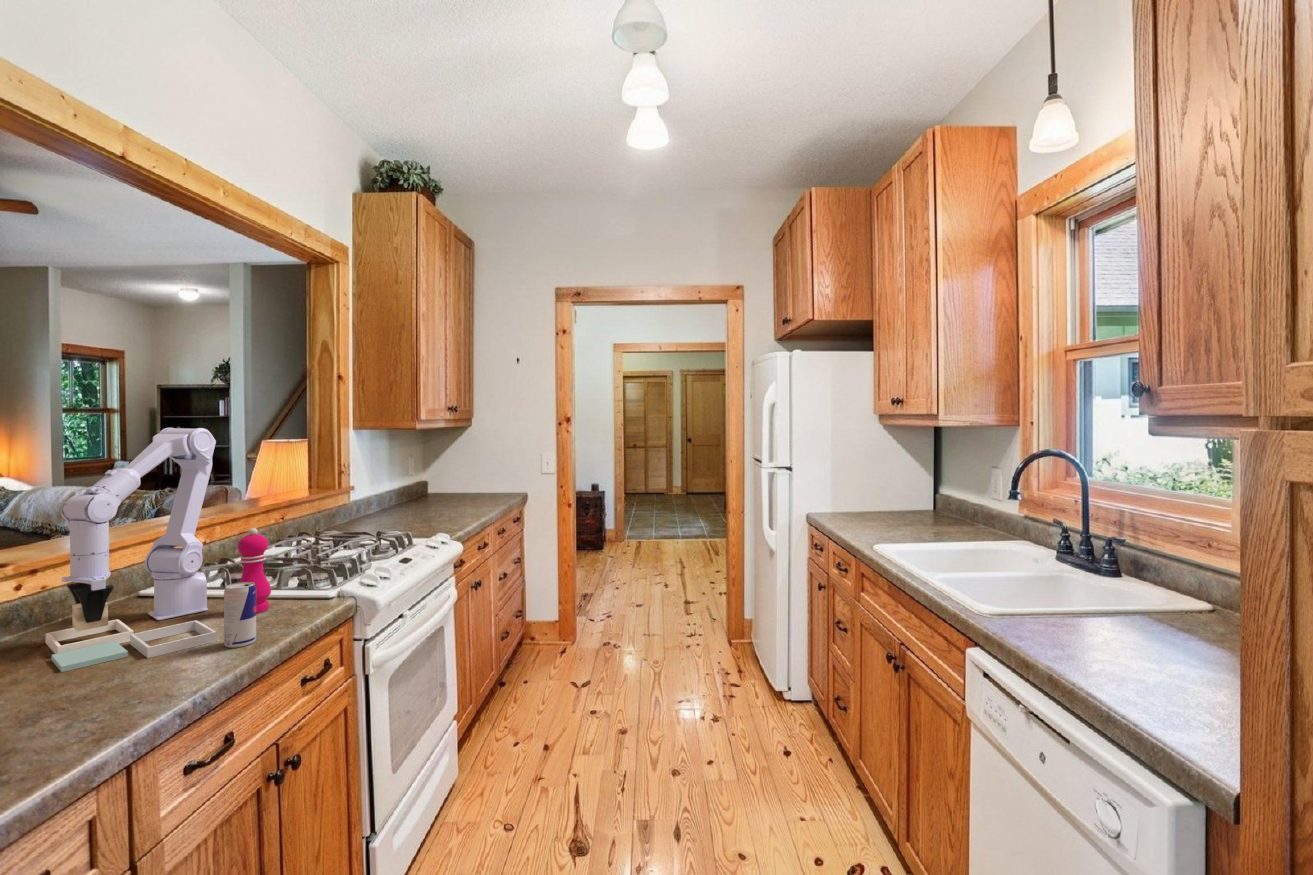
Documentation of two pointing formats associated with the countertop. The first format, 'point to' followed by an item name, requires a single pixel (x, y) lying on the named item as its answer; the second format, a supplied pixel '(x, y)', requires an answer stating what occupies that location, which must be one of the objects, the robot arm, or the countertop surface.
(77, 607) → the letter cube
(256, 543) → the pepper mill
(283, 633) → the countertop surface
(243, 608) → the energy drink
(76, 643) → the white tray
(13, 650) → the countertop surface
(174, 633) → the white rectangular frame
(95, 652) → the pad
